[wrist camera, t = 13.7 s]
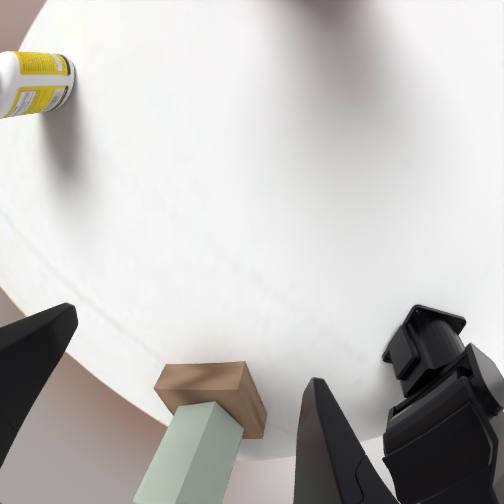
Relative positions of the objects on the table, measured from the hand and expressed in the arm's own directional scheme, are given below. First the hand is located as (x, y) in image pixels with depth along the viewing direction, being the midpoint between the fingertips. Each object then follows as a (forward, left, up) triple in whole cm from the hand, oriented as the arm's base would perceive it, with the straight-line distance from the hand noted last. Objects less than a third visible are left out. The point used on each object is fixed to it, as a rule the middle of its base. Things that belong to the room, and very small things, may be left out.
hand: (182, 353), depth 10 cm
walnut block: (-1, +20, -14) cm, 24 cm away
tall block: (-1, +20, -10) cm, 22 cm away
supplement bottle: (+20, -8, -14) cm, 25 cm away
